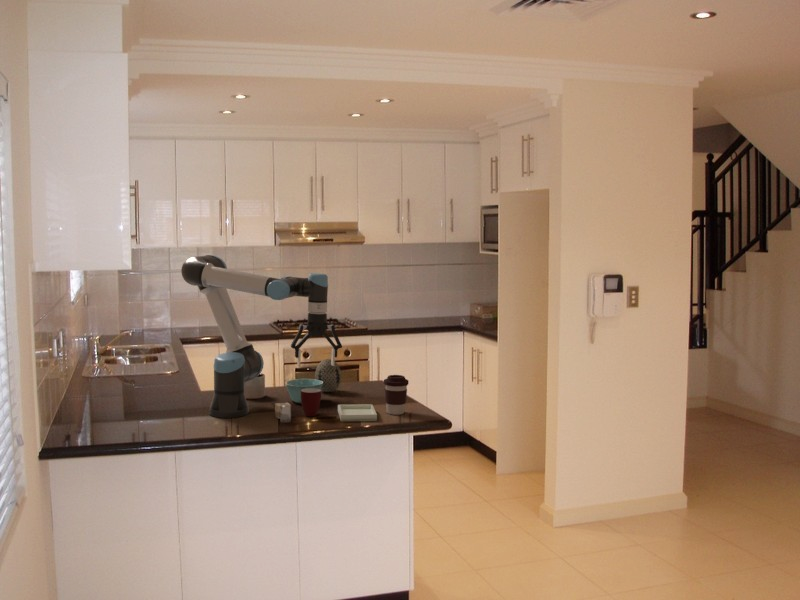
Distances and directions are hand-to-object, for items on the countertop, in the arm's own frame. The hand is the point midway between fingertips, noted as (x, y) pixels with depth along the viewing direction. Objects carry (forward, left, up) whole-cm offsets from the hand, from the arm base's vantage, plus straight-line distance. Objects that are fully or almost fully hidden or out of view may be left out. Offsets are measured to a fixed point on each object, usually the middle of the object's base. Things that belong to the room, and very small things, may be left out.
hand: (315, 365), depth 326 cm
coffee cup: (+32, -1, -19) cm, 38 cm away
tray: (+16, -5, -19) cm, 26 cm away
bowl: (-4, +21, -19) cm, 29 cm away
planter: (-26, +30, -19) cm, 44 cm away
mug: (-2, -2, -19) cm, 20 cm away
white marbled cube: (-13, -5, -19) cm, 24 cm away
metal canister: (-12, -12, -19) cm, 26 cm away
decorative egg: (+7, +38, -19) cm, 43 cm away
